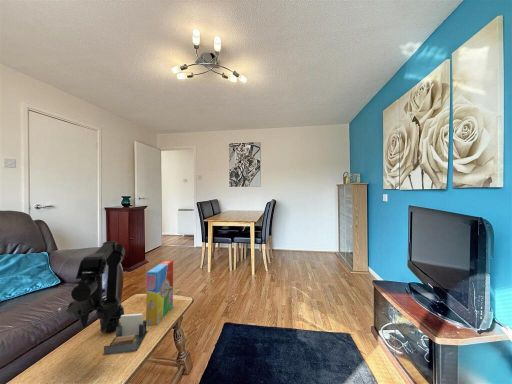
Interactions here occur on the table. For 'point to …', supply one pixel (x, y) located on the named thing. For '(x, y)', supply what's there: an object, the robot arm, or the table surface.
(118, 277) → the robot arm
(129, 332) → the panel
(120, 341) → the offcut upper
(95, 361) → the table surface
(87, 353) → the table surface
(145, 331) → the rack
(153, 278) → the game box
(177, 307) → the table surface
